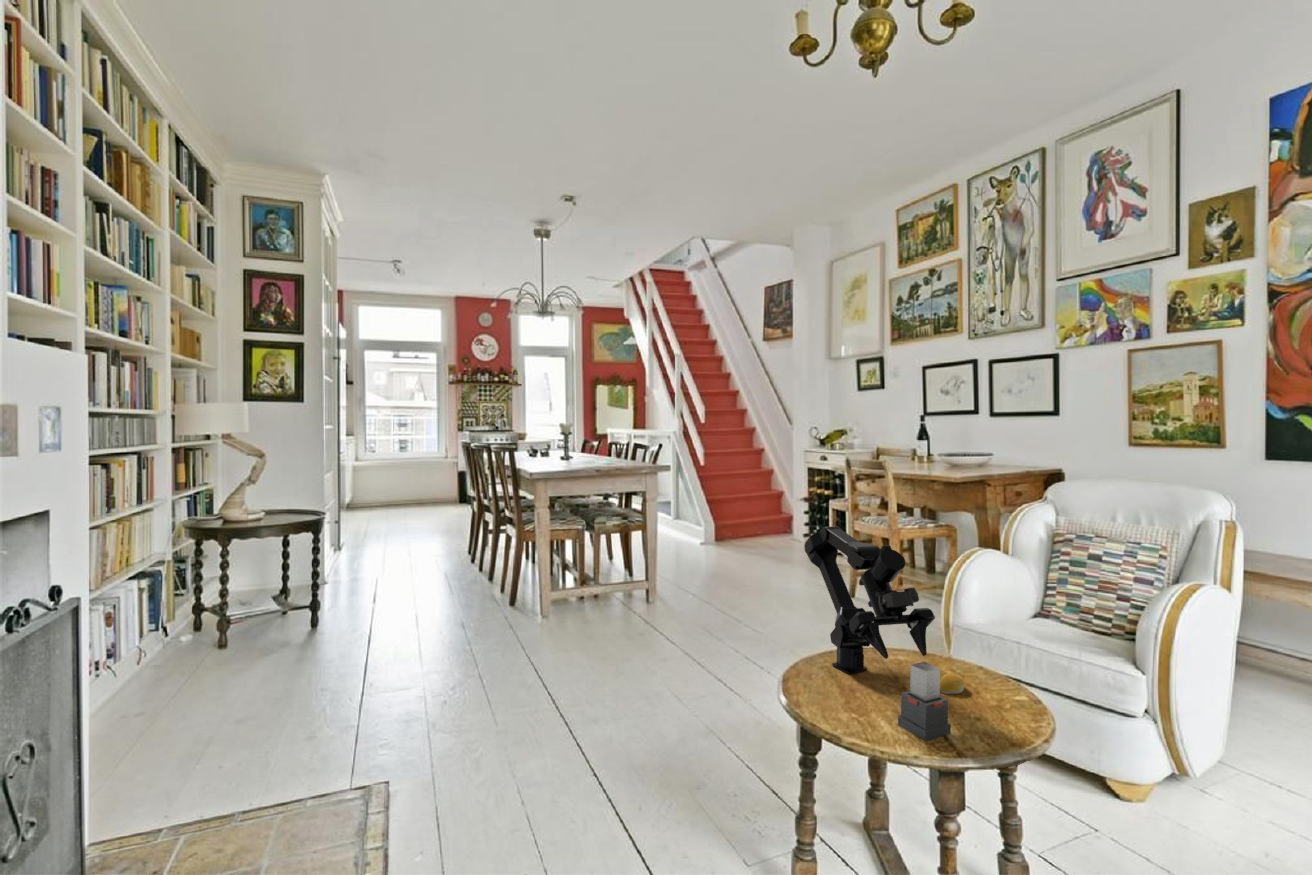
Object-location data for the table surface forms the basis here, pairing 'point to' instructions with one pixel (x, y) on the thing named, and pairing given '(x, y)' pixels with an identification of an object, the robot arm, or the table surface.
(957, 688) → the bread roll
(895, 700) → the table surface
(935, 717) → the dark grey box
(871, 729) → the table surface
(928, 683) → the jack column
